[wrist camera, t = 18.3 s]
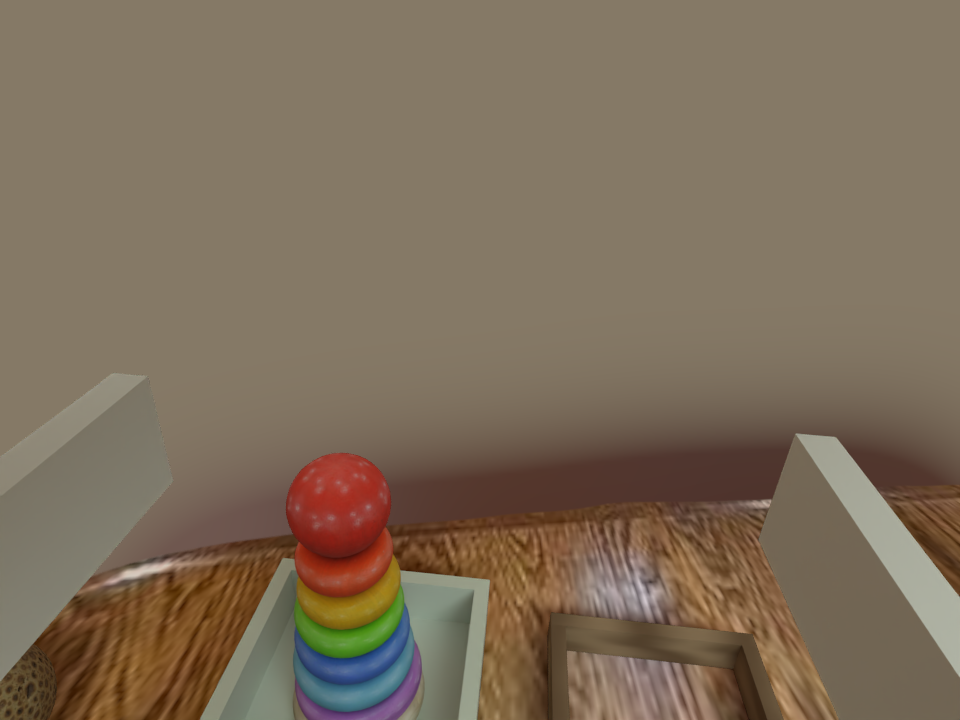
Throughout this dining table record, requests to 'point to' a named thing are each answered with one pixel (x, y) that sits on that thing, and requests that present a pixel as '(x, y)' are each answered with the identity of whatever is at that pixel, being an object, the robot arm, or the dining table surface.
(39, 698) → the natural sponge
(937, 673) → the robot arm
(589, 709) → the dining table surface
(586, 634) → the walnut holder
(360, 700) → the stacking toy
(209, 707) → the sage tray
